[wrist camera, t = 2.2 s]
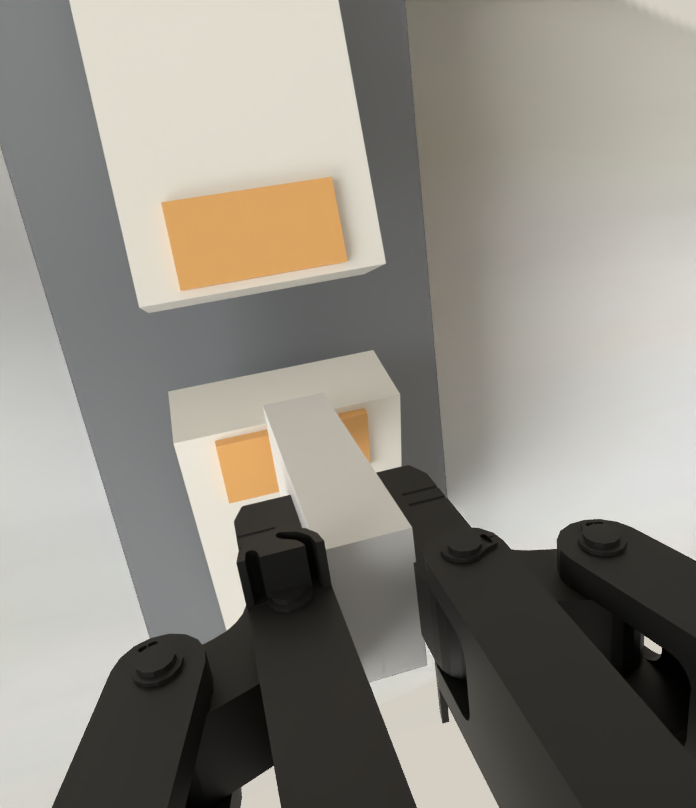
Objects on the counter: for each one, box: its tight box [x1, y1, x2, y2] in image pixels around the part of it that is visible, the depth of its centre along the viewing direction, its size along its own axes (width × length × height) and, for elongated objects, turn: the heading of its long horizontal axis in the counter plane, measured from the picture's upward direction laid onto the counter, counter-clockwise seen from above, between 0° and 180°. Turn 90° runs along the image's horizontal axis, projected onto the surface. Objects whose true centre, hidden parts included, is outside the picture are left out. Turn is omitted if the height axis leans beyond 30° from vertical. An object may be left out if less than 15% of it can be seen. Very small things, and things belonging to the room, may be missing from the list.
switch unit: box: [0, 0, 447, 645], centre depth 24 cm, size 12×27×7 cm, turn 7°
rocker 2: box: [168, 350, 402, 630], centre depth 21 cm, size 6×11×3 cm, turn 7°
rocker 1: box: [69, 0, 386, 313], centre depth 16 cm, size 6×11×3 cm, turn 7°
